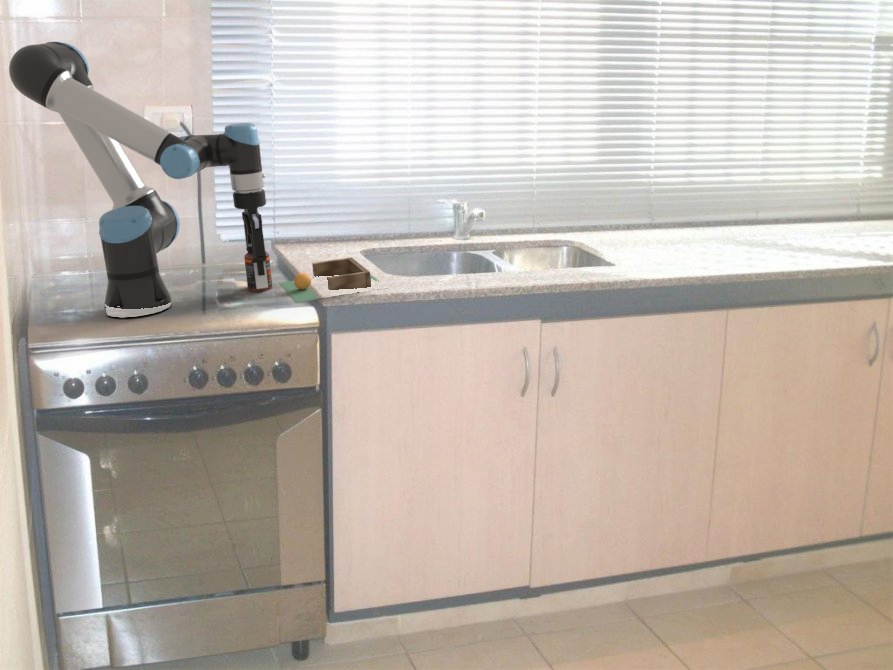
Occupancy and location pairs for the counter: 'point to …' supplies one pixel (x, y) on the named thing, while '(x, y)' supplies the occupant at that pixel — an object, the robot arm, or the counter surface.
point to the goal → (343, 274)
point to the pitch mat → (302, 291)
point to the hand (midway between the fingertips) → (259, 284)
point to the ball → (302, 281)
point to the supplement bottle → (251, 274)
